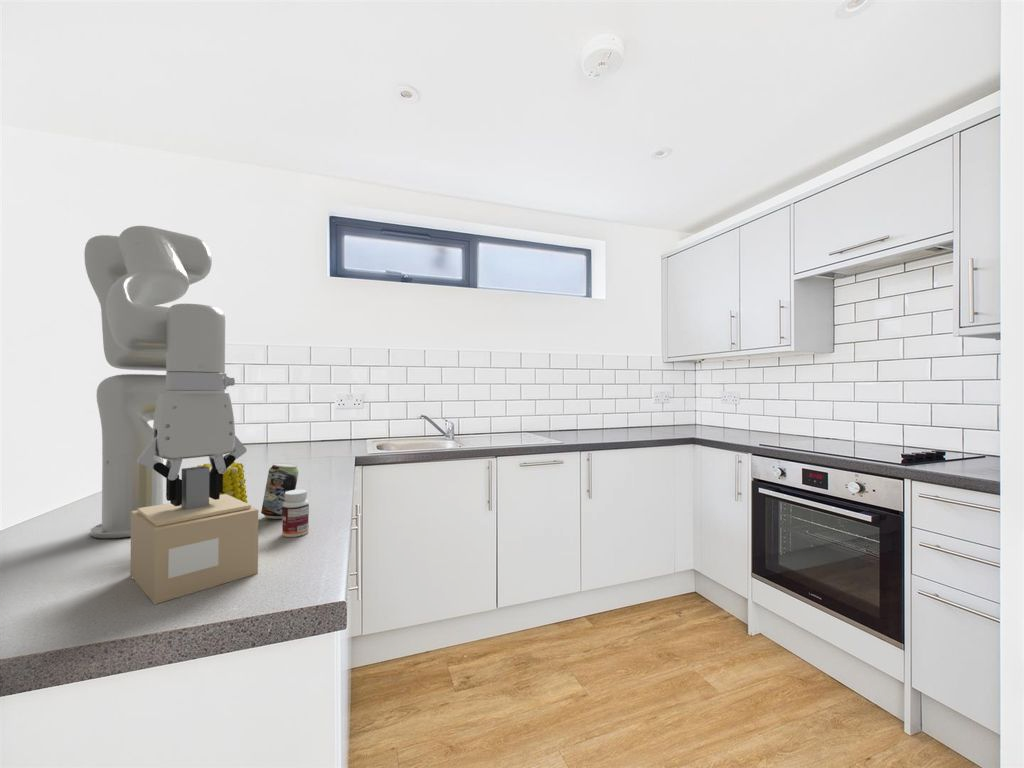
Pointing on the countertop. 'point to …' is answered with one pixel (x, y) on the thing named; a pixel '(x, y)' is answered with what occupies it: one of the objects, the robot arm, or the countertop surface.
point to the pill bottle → (295, 513)
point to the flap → (193, 501)
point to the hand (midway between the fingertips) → (195, 500)
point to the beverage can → (278, 488)
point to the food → (233, 481)
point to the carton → (193, 553)
